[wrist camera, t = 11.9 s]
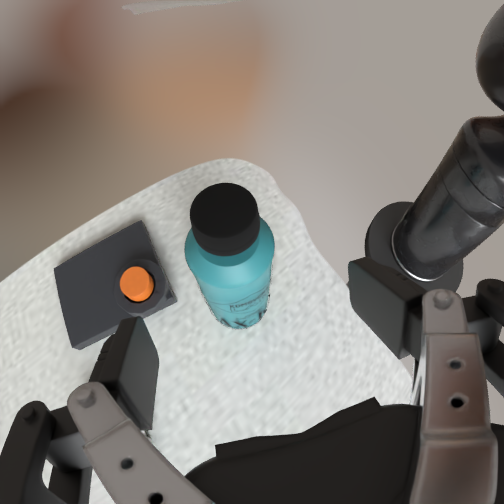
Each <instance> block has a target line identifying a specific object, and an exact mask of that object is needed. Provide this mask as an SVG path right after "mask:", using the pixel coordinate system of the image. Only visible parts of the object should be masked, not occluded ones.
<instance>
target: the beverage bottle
mask: <svg viewBox="0 0 504 504" xmlns="http://www.w3.org/2000/svg"><path fill="white" fill-rule="evenodd" d="M190 220H191V224H192V228H191V229H190V231H189V233H188V235H187V238H186V242H185V257H186V261H187V264H188V266H189V268H190V270H191V271H192V272H193V274H194V276H195V278H196V280H197V282H198V284H199V286H200V289H201V291H202V293H203V295H204V296H205V297H204V298H206V300H207V302H208V305H209V306H210V308H211V310H212V311H213V313H214V315H215V317H216V318H217V319H218V322H219V321H220V322H221V323H220V324H224V326H225V325H226V326H228V327H232V328H236V329H239V328H240V329H242V328H245V329H246V327H249V326H251V327H252V325H253V324H256V323H257V322H258V321H260V320H261V319H262V316H263V315H264V314H265V313H266V310H267V309H266V307H267V300H268V293H269V285H270V283H271V282H270V280H271V279H270V277H271V265H272V259H273V255H274V248H275V245H274V237H273V234H272V231H271V229H270V227H269V226H268V224H267V223H266V222H265V221H264V220H263V219H262V218H261V217H260V216H259V213H258V206H257V203H256V200H255V198H254V197H253V195H252V194H251V193H250V192H249V191H248V190H247V189H245V188H244V187H242V186H240V185H237V184H233V183H219V184H215V185H212V186H209V187H207V188H206V189H204V190H203V191H201V192H200V193H199V194H198V195H197V196H196V198H195V199H194V201H193V202H192V205H191V209H190ZM272 266H273V265H272ZM198 288H199V287H198ZM269 297H270V295H269ZM268 303H269V302H268ZM211 310H210V311H211ZM211 313H212V312H211ZM214 315H213V316H214ZM215 317H214V318H215ZM216 318H215V319H216ZM217 319H216V320H217ZM226 326H225V327H226ZM253 326H254V325H253Z"/></svg>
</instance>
